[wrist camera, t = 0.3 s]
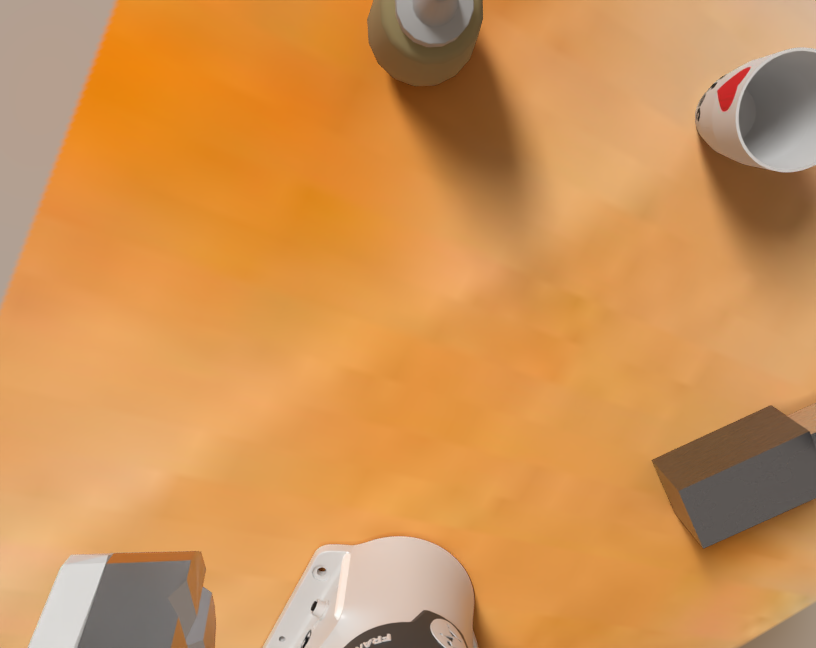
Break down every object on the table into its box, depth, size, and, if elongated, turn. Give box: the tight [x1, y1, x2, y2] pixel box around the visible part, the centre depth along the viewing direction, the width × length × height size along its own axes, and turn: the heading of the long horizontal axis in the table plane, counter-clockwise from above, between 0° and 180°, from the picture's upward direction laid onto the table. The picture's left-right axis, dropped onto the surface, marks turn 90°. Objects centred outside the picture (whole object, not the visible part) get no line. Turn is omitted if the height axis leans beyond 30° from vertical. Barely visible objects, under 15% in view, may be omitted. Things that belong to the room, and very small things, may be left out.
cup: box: [695, 48, 816, 172], centre depth 55 cm, size 8×8×10 cm
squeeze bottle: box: [367, 0, 483, 86], centre depth 48 cm, size 8×8×18 cm
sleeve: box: [652, 406, 816, 549], centre depth 64 cm, size 12×6×6 cm, turn 116°
